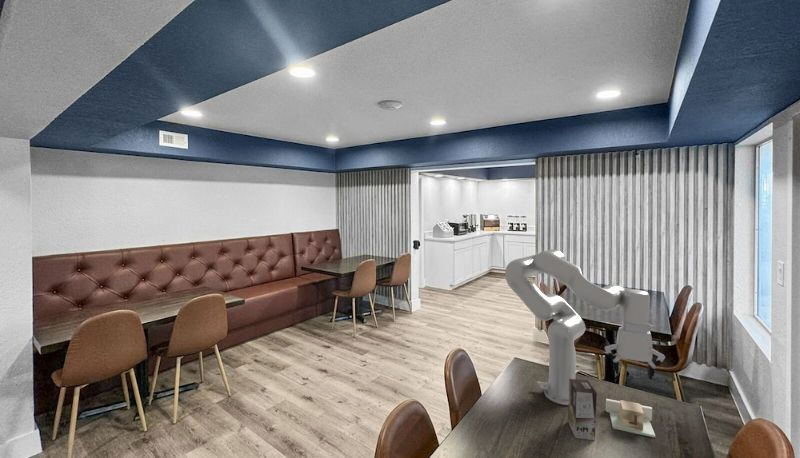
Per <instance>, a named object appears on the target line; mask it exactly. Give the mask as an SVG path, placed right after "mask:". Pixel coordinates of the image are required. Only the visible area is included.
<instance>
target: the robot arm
mask: <svg viewBox="0 0 800 458" xmlns="http://www.w3.org/2000/svg"><path fill="white" fill-rule="evenodd" d="M539 274H545V275H547V276H549V277H551V278H553V279H554V280H556V281H558V282H560V283H562V284H563V285H565V286H567V287H568V288H569V290H570V291H571V292H572V293H573V294H574V295H575V296H576V297H577V298H579V299H580V300H581V301H583V302H585V303H587V304H588V305H590V306H591V307H593V308H595V309H598V310H599V311H600V310H601V311H604V312H605V311H606V312H610V311H613V310H615V309H616V308H619V307H622V312H621V313H622V317H621V319H622V320H621V326H619V327H618V330H617V335H616V341H615V342H616V343H614V344H613V343H612V344H609V345H605V346H604V350H605V352H606V354H607V356H608V357H609V358H610V359H611V360H612V370H613V371H615V374H616V375H617V374H618V375H619V371H620V369H619V367H620V364H619V361H620V360H621V359H623V360H629V361H630V360H631V361H638V362H644V363H648V364H647V375H646V376H647V377H648V379H649V380H651V381H652V380H653V377H655V369H656V368H657V367H658V366H659V365H661V364H662V362H664V360H665V359H666V356H665V355H664V353H661V352H660V351H658V350H656V349H654V348H653V340H652V339H653V338H652V333H651V331H650V330H654V329H655V325H654V324H650V307H651V306H650V305H651V295H650V294H649V292H647V291H645V290H640V289H635V288H634V289H633V288H632V289H630V288H627V287H624V286H621V285H617V284H609V285H606V286H604V287H601V286H599V285H597V284H595V283H594V282H591V281H590V280H588V279H587V278H586V277H585V276H584V274H583V273H582V269H581V267H580V266H578V265H576V264H575V263H572V262H570V261H568V260H567V259H566V256H565V254H564V253H563V252H561V251H560V250H558V249H548V250H544V251H540V252H539V253H536V254H532V255H530V256H526V257H521V258H516V259H513V260H511V261H510V262H509V263H508V264H507V265H506V268H505V272H504V277H505V281H506V284H507V285H508V287H509V288H510V289H511V291H513V292H514V294H515V295H516V296H518V297H519V299H520V300H521V301H522V302H523V304H524V305H525V306H526V307H527V309H529V311H530V312H531V313H532V314H533V316H535V318H537V320H540V321H542V322H546V321H549V320H552V319H553V321H552V322H551V323H550V324H549V326H548V329H547V338H548V346H549V347H548V349H549V351H548V352H549V355H548V356H549V357H548V359H549V361H548V362H549V363H548V380H547V381H545V382H543V381H539V380H538V381H536V387H539V390H544V396H545V397H546V398H547V400H549V401H552V402H553V403H555V404H558V405H561V406H562V405H563V406H568V401H569V379H576V371H577V370H576V362H577V360H576V359H577V358H576V357H577V355H576V354H577V353H576V348H575V347H576V346H575V340H577V339H579V338H580V337H581V336H583V334H584V333H585V331H586V324H585V321H584V320H583V319H582V317H581V316H580V315H579V314H578V312H576V311H575V310H574V309H573V307H572V306H571V305H569V303H568V302H567V301H566V300H565V299H564V298H563V297H561V296H560V295H558V294H555V293H547V294H544V293H543V292H542V291H541V290H540V288H539V287H538V286H537V285H536V284H535V283H533V282H531V281H530V280H529V279H527V278H529V277H532V276H536V275H539ZM613 350H615V352H616V353H615V354H613V353H612V351H613ZM653 355H655V356H657V358H656V359H654V360H653Z"/></svg>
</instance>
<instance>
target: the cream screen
mask: <svg viewBox="0 0 800 458" xmlns="http://www.w3.org/2000/svg"><path fill="white" fill-rule="evenodd" d="M641 407H642V410H643V413H644V419H648V420H649V421H650V422H652V421H653V407H652V406H648V405H642V404H641ZM605 412H606V413H609V414H610V412H613V413H618V414H620V400H615V399H610V398H605Z"/></svg>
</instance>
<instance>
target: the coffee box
mask: <svg viewBox="0 0 800 458" xmlns="http://www.w3.org/2000/svg"><path fill="white" fill-rule="evenodd" d="M597 394H598V393H597V391H596V390H595V389H594V387H593V386H592V384H591V383H590V382H589V380H588V379H583V378H582V379H580V378H575V379H569V401H568V405H567V406H568V408H567V409H568V411H567V412H568V414H567V415H568V417H567V423H568V425H569V426H570V429H571V432H572V433H573V437H574V438H576V439H580V440H581V439H582V440H589V441H595V440H596V419H597V415H596V414H597V396H598V395H597Z"/></svg>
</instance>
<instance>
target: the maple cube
mask: <svg viewBox="0 0 800 458" xmlns="http://www.w3.org/2000/svg"><path fill="white" fill-rule="evenodd" d="M619 401H620V419H621V423H622V426H626V427H630V428H635V429H640V430H643V419H644V413H643V410H642V407H641V405H642V404H641V403H638V402H634V401H627V400H623V399H620V400H619Z"/></svg>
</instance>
